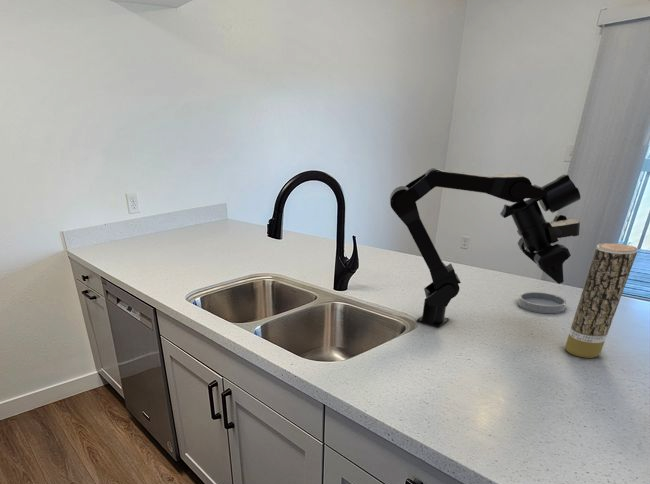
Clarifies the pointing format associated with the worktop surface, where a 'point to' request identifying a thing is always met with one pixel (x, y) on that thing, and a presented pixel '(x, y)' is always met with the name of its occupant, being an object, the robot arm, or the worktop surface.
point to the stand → (542, 302)
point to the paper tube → (600, 298)
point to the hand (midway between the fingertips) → (554, 276)
